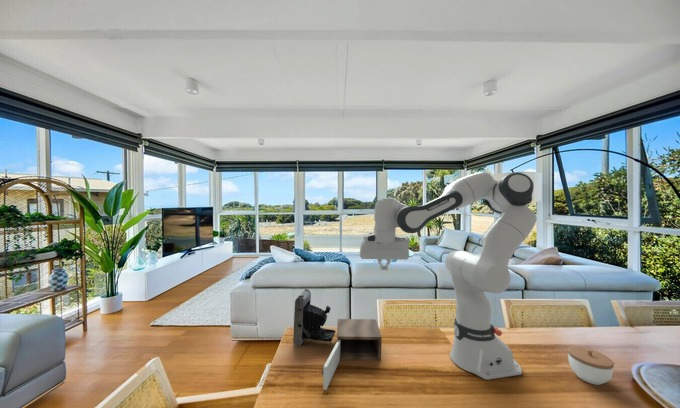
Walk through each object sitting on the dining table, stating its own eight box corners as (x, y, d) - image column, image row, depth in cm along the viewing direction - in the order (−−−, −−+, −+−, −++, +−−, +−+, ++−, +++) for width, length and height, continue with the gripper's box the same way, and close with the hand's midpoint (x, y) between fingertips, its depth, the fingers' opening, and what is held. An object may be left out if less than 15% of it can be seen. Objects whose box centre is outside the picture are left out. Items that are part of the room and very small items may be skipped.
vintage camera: (330, 353, 94) (333, 301, 94) (291, 346, 97) (294, 295, 97) (335, 339, 103) (338, 292, 103) (300, 333, 106) (303, 287, 106)
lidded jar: (558, 366, 88) (559, 340, 88) (589, 367, 87) (590, 341, 87) (588, 390, 77) (589, 360, 77) (623, 391, 77) (624, 361, 77)
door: (326, 390, 75) (327, 366, 74) (320, 389, 75) (320, 365, 75) (340, 360, 89) (340, 339, 89) (335, 359, 89) (335, 338, 89)
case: (375, 339, 103) (376, 319, 102) (381, 360, 90) (381, 336, 89) (337, 339, 102) (337, 318, 102) (337, 359, 89) (337, 336, 89)
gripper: (407, 235, 106) (406, 267, 106) (359, 235, 106) (359, 267, 106) (411, 238, 100) (410, 272, 100) (361, 237, 99) (360, 271, 100)
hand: (383, 269), depth 103 cm, fingers closed
